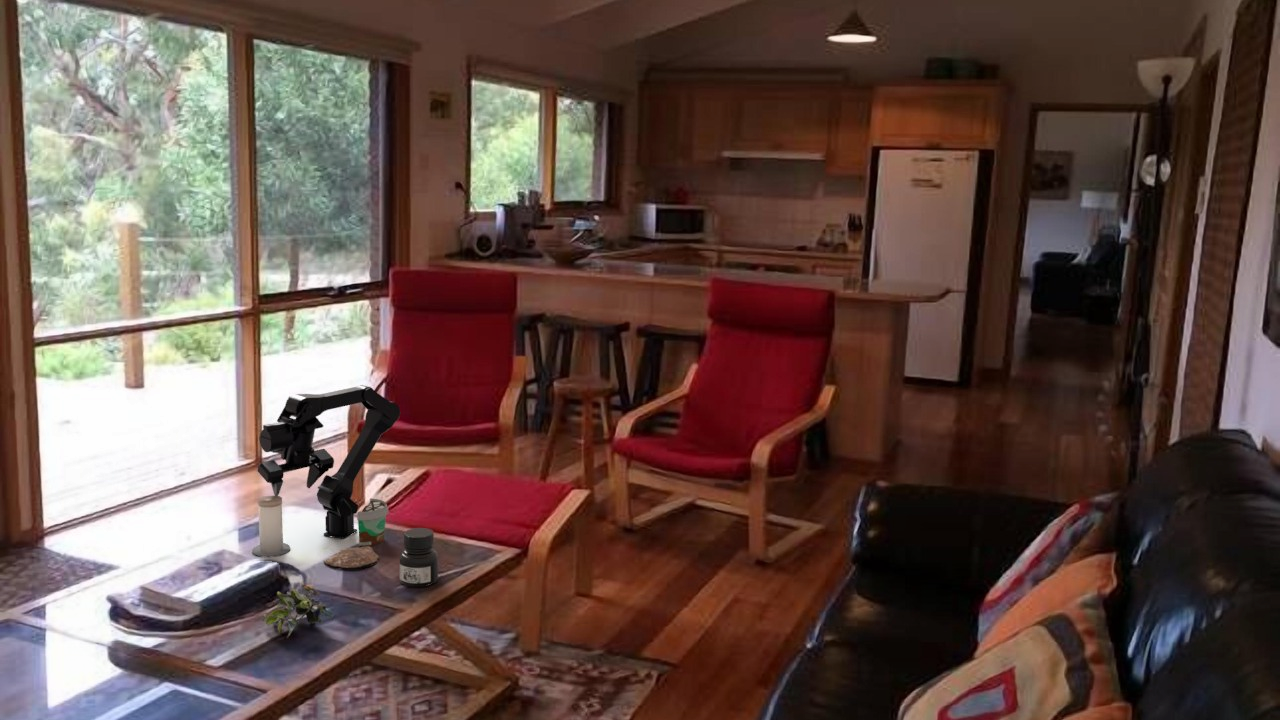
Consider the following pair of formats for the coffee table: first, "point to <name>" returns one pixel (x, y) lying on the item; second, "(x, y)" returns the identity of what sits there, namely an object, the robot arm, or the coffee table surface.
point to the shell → (353, 559)
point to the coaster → (258, 552)
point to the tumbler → (270, 523)
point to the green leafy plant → (297, 608)
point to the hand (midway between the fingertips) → (292, 491)
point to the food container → (372, 523)
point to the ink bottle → (418, 558)
